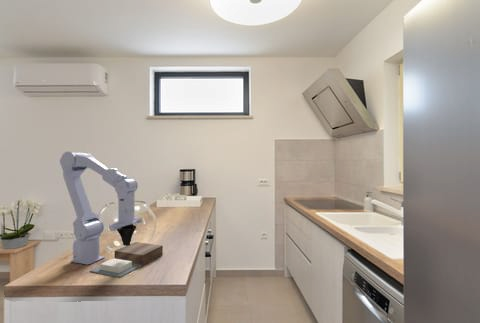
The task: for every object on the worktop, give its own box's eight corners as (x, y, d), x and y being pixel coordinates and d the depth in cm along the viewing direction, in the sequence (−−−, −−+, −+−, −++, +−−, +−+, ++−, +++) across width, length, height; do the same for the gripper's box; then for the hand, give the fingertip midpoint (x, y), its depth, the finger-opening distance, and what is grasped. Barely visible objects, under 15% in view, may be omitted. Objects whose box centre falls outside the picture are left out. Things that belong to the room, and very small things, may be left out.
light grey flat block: (113, 258, 101) (113, 263, 101) (100, 264, 96) (100, 269, 96) (132, 261, 98) (132, 266, 98) (119, 267, 92) (119, 273, 92)
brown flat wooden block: (114, 260, 105) (114, 250, 105) (136, 251, 116) (136, 242, 116) (142, 265, 100) (142, 255, 100) (162, 255, 111) (162, 245, 111)
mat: (90, 271, 95) (90, 270, 95) (114, 261, 105) (114, 260, 105) (120, 277, 90) (120, 276, 90) (142, 265, 100) (142, 264, 100)
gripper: (119, 214, 93) (119, 252, 93) (147, 207, 107) (147, 240, 107) (104, 212, 96) (104, 249, 96) (134, 206, 109) (134, 238, 110)
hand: (126, 245), depth 102 cm, fingers closed
